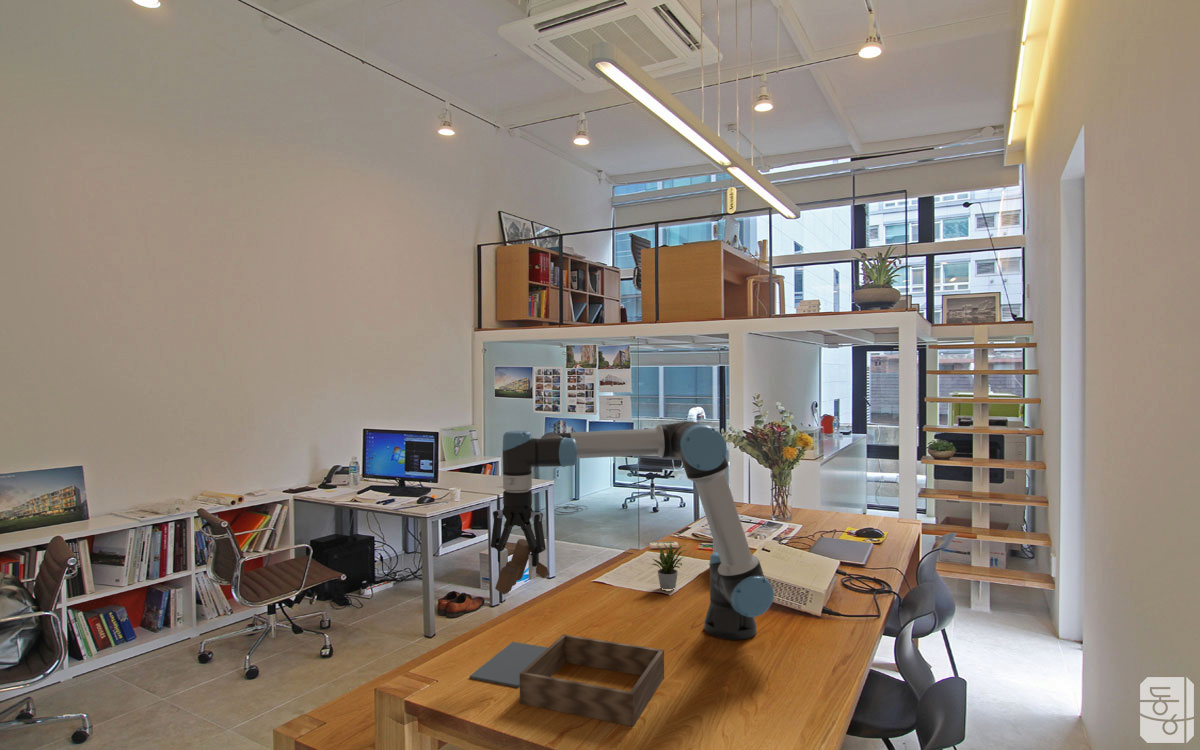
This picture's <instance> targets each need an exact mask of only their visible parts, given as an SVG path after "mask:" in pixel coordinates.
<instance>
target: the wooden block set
mask: <svg viewBox="0 0 1200 750" xmlns="http://www.w3.org/2000/svg"><path fill="white" fill-rule="evenodd" d="M529 554H531V551H530V548H529V545H528V543H527V540H526V538H519V539H518V540H517V542H516V544H515V547H514V550H513V554H512V557H511V560H508V562H507V564H506V566H505V567H503V568H502V569H501V572H500V571H499V572H500V573H499V575H498V578H497V582H496V585H495V591H497V592H499V593H500V594H502V595H506V594H507V593H510V592H511V591H512V588H513V587H515V585H516V584H517V582H518V581H521V580H522V579H523V576H524V573H525V570H526V567H527V564H528V562H529ZM536 575H538V576H540V577H541V578H542V579H545V578H546V577H548V576H549V575H550V572H549V570H548V567H547V566H546V565H544V564H542V563H541V562H540V561H539V564H538V566H536Z"/></svg>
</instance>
